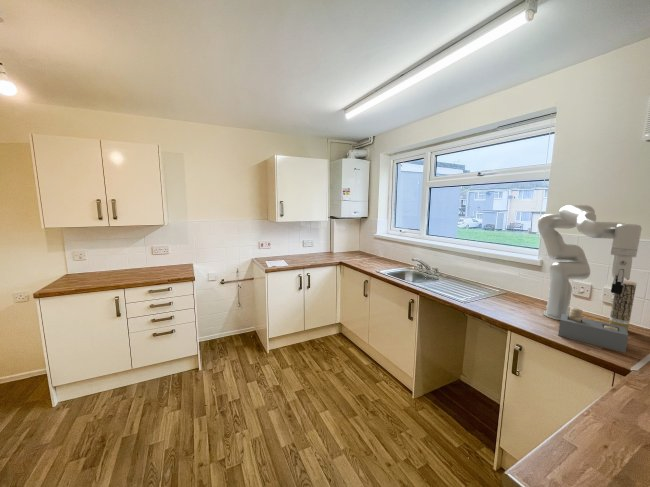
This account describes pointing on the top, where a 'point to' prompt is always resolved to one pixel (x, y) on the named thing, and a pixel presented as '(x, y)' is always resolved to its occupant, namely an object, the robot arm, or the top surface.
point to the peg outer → (611, 328)
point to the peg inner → (575, 314)
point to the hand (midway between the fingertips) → (616, 293)
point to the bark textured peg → (623, 305)
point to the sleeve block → (594, 333)
